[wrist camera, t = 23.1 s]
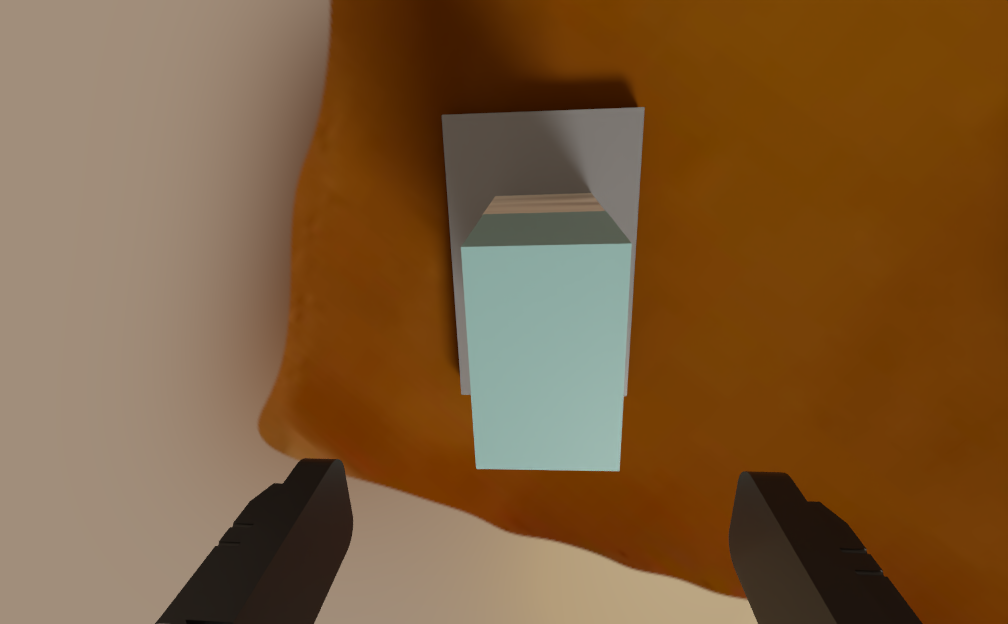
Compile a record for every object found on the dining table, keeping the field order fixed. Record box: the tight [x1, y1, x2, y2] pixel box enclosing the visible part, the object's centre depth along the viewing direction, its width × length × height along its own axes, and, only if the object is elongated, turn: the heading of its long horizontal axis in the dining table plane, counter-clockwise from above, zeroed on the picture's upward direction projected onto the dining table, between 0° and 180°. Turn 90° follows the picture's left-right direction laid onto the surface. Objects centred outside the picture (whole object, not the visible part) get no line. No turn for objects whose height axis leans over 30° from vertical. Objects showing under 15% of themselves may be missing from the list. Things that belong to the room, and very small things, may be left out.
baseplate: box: [442, 107, 645, 396], centre depth 28 cm, size 16×10×2 cm, turn 2°
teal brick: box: [461, 211, 632, 471], centre depth 19 cm, size 8×5×6 cm, turn 2°
